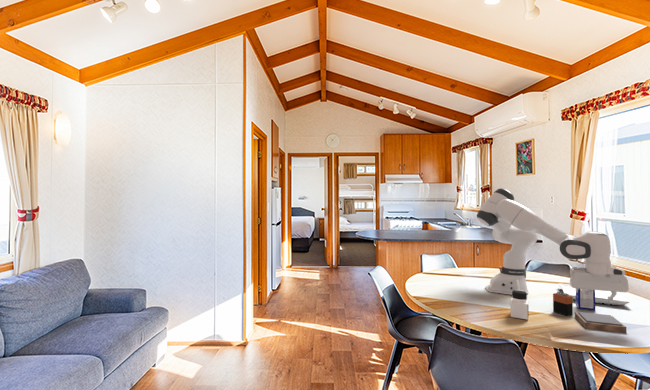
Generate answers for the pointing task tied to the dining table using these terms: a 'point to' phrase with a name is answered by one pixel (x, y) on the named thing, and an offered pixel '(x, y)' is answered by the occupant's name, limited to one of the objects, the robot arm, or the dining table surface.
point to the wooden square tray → (600, 322)
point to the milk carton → (585, 300)
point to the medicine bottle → (519, 304)
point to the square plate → (596, 295)
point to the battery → (562, 304)
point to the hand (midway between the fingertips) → (598, 300)
